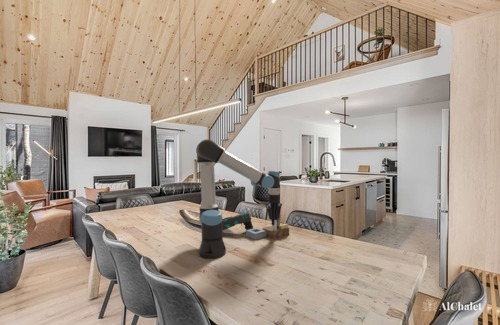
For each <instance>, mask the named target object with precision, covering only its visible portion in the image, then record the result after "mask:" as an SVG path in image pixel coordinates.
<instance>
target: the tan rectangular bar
mask: <svg viewBox="0 0 500 325" xmlns="http://www.w3.org/2000/svg"><path fill="white" fill-rule="evenodd" d="M285 228H289V223H284V224H280V225H279V229H285Z"/></svg>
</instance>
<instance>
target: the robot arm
mask: <svg viewBox="0 0 500 325" xmlns="http://www.w3.org/2000/svg"><path fill="white" fill-rule="evenodd" d="M195 150H196V151H195V153H196V160H197V162H196V163H197V164H198V165H199V170H200V174H199V176H200V192H201V194H200V195H201V205H200V206H199V217H198V218H199V222H200V225H201V242H200V244H199V249H198V256H199V257H200V258H203V259H218V258H220V257H223V256H225V255H226V253H227V248H226V246H225V245H226V244H225V242H224V239H223V230H222V219H224V218H223V213H222V212H221V211H220V209H219V205H218V204H217V201H216V200H217V197H216V181H215V180H216V178H215V177H216V176H215V175H216V174H215V165H216V164H220V165H222V166H224V167H226V168H228V169H230V171H231V170H232V171H233V172H235V173H237V174H239V175H241V176H242V177H244V178H246V179H248V180H250V184H251V186H255V187H262V188H264V189H268V204H267V205H265V207H266V211H267V215H268V219H269V220H270V221H271V226H272V229H273V230H277V220H278V218H279V217H280V218H281V212H282V211H281V209H282V206H283V203H280V201H281V200H280V199H281V194H280V193H281V187H280V186H281V185H280V184H281V183H280V182H281V174H280V171H279V170H269V171H268V172H267V173H264V172H262V171H261V170H259V169H257V168H256V167H254V166H253V165H251V164H249V163H247V162H245V161H243V160H241V159H240V158H238V157H236V156H235V155H233V154H232V153H230V152H228V151H226V149H225V147H223V146H221V145H219V144H218V143H217V142H216V141H214V140H212V139H203V140H201V141H200V142H199V143H198V144H197V146H196V149H195Z"/></svg>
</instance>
